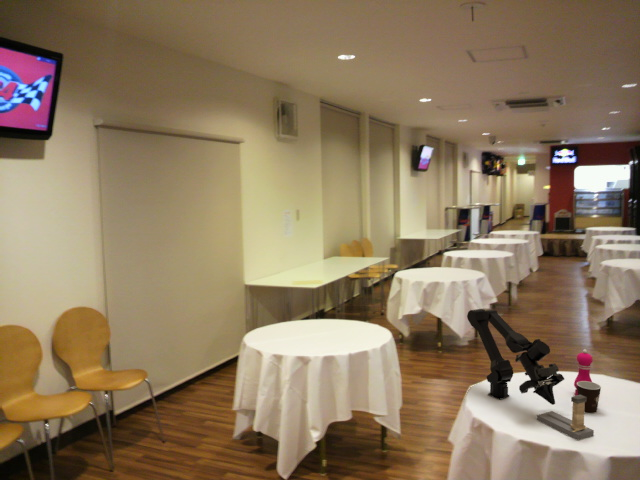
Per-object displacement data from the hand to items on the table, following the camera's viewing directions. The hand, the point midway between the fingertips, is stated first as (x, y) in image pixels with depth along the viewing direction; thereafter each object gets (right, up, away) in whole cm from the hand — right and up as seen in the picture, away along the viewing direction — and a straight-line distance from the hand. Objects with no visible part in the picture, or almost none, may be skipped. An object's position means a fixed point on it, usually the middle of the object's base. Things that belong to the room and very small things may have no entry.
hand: (553, 404), depth 197 cm
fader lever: (+5, -6, -9) cm, 12 cm away
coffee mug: (+20, -6, +12) cm, 24 cm away
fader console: (+2, -7, -4) cm, 9 cm away
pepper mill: (+24, -4, +26) cm, 35 cm away
